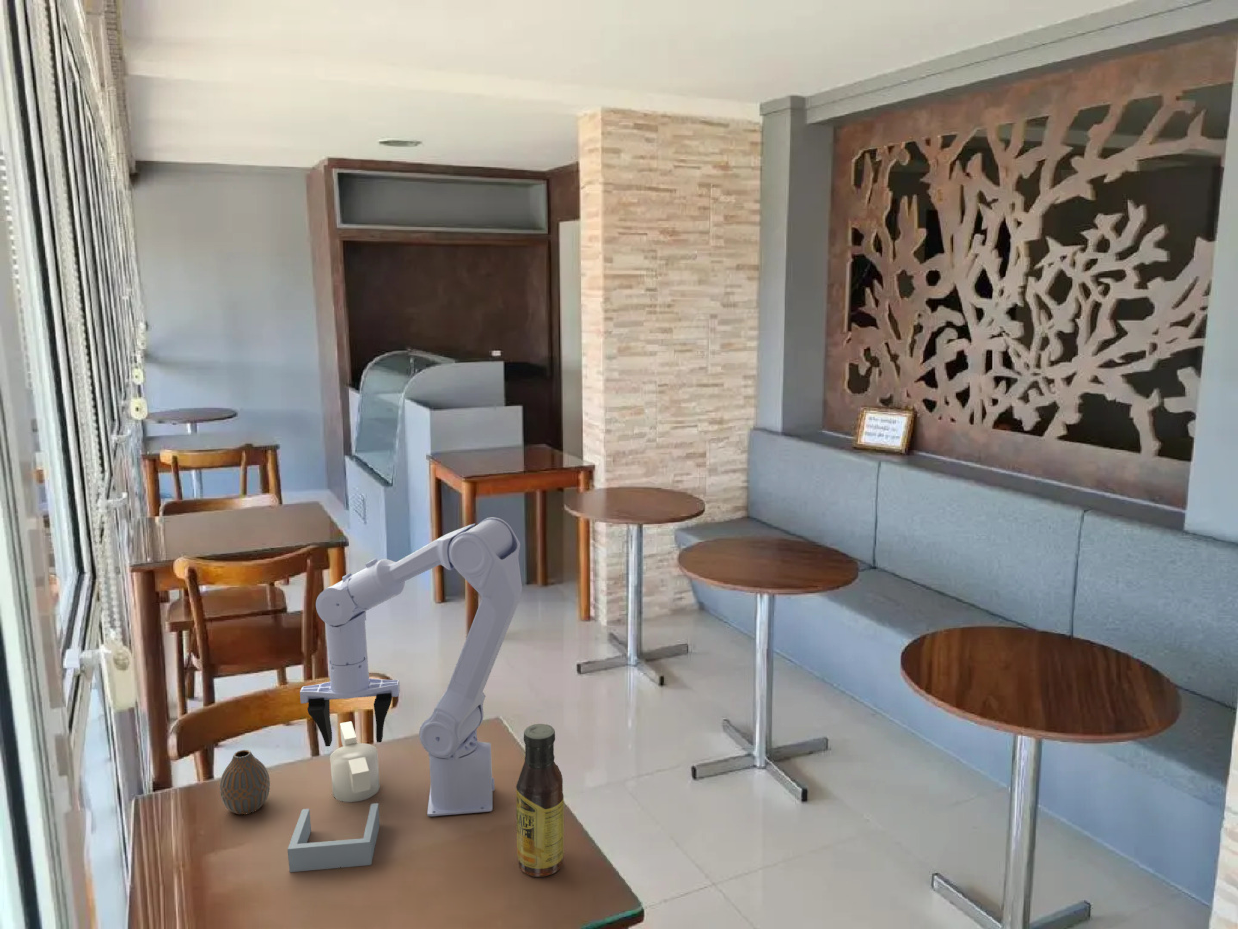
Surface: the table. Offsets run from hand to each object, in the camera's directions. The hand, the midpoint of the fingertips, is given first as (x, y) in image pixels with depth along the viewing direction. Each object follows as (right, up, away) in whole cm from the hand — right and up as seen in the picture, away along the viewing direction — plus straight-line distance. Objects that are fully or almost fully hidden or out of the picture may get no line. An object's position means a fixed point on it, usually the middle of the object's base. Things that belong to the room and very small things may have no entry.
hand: (354, 741), depth 143 cm
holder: (+2, -10, -14) cm, 17 cm away
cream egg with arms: (0, -8, 0) cm, 8 cm away
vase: (-15, -9, -4) cm, 18 cm away
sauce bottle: (+30, -11, -19) cm, 38 cm away
